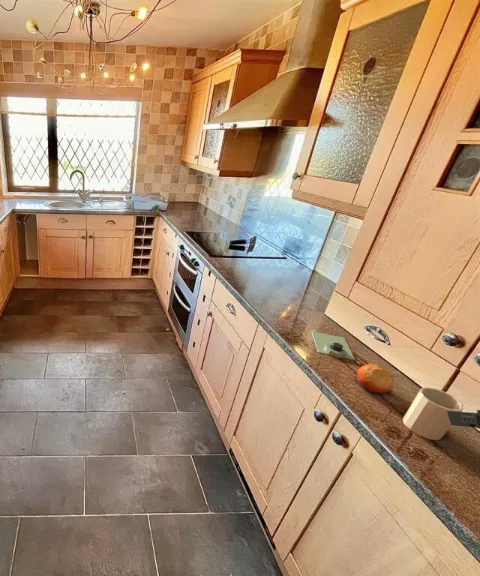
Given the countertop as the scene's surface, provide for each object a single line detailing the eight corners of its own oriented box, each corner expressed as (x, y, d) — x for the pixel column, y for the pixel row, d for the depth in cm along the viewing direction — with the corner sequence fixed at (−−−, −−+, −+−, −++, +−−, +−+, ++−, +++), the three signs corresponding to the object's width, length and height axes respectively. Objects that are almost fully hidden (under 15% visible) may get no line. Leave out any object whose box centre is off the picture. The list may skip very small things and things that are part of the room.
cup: (433, 421, 79) (453, 392, 74) (448, 444, 73) (470, 414, 69) (397, 412, 82) (414, 383, 77) (409, 433, 76) (428, 404, 71)
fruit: (370, 369, 94) (390, 361, 87) (382, 396, 90) (405, 389, 83) (343, 369, 94) (361, 361, 88) (354, 396, 90) (374, 389, 83)
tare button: (340, 348, 102) (342, 343, 101) (342, 352, 100) (344, 348, 99) (330, 345, 103) (331, 341, 102) (332, 350, 101) (333, 346, 100)
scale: (343, 340, 110) (346, 334, 108) (354, 364, 98) (357, 357, 97) (310, 334, 113) (313, 327, 112) (317, 356, 102) (320, 349, 101)
